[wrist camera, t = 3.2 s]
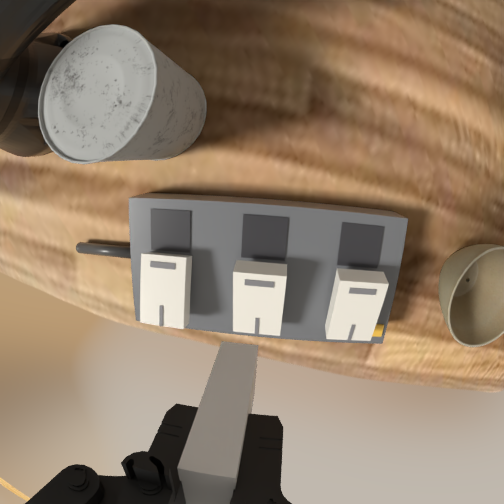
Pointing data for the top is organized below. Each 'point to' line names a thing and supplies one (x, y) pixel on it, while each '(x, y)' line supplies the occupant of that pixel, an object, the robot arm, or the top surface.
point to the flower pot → (474, 294)
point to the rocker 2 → (258, 297)
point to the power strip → (263, 253)
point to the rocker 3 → (355, 304)
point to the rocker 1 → (165, 289)
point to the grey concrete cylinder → (118, 100)
